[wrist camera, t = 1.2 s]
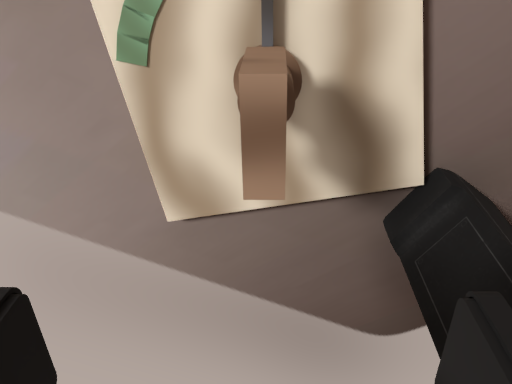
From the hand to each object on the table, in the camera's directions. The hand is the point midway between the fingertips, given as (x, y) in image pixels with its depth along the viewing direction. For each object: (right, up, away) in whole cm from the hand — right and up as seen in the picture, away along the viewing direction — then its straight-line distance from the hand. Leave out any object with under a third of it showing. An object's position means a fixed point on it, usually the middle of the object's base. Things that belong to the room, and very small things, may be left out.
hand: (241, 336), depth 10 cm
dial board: (+1, +12, +20) cm, 24 cm away
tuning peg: (+1, +13, +18) cm, 22 cm away
